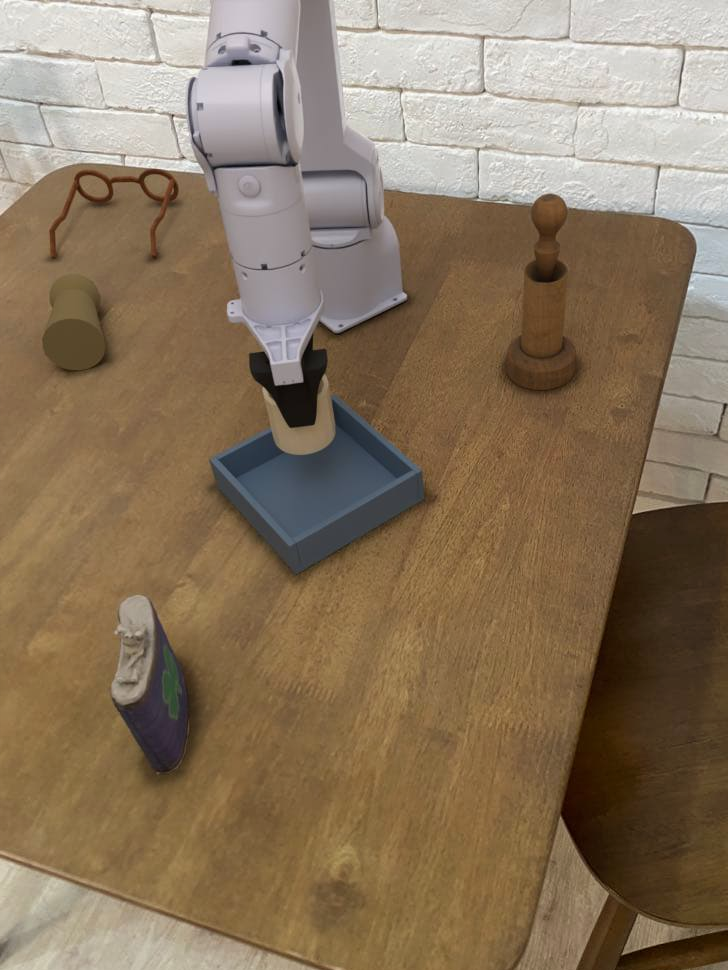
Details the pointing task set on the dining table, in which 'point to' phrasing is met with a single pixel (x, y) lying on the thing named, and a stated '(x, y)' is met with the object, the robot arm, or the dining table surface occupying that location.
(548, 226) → the mortar and pestle
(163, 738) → the flask
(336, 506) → the tray
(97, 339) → the pepper mill
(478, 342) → the dining table surface
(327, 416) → the cream cup
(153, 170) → the glasses
